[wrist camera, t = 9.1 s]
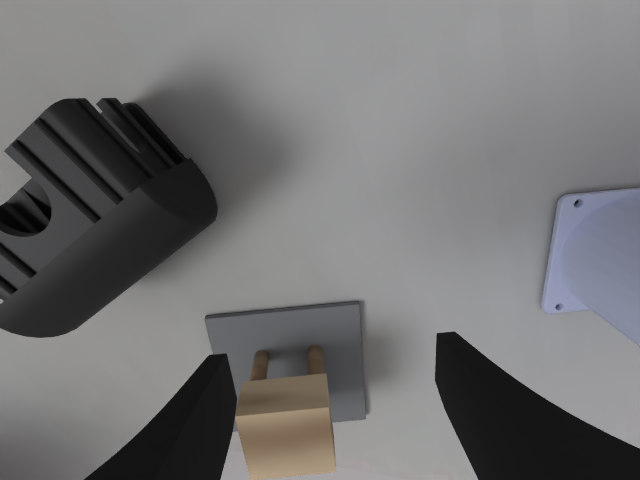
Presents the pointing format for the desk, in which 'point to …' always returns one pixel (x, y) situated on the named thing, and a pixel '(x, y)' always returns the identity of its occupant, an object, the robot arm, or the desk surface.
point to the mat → (297, 348)
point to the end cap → (92, 213)
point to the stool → (286, 421)
